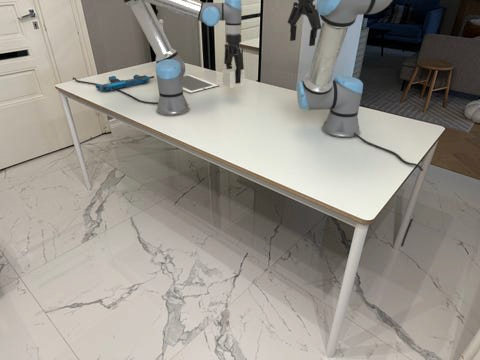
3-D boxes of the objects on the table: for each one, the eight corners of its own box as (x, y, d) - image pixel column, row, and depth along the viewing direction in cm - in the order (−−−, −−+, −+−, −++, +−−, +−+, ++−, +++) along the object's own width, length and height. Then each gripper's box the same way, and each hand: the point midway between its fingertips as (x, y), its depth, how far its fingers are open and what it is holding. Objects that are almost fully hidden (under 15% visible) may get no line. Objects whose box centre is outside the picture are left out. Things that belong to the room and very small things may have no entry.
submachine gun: (140, 69, 223) (158, 75, 206) (141, 75, 225) (159, 81, 208) (87, 79, 204) (103, 87, 188) (89, 85, 206) (105, 94, 190)
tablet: (161, 80, 212) (161, 79, 212) (189, 74, 223) (188, 73, 223) (190, 93, 191) (190, 92, 191) (218, 85, 203) (218, 85, 202)
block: (244, 85, 178) (245, 70, 174) (230, 87, 173) (229, 73, 169) (237, 81, 183) (237, 67, 179) (222, 84, 179) (222, 69, 175)
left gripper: (251, 36, 159) (250, 84, 172) (229, 30, 173) (229, 74, 186) (238, 38, 156) (238, 87, 168) (216, 31, 170) (217, 77, 182)
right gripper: (334, -8, 138) (326, 46, 150) (295, -12, 156) (291, 37, 168) (320, -7, 135) (314, 48, 147) (282, -11, 153) (279, 39, 165)
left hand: (233, 80), depth 177 cm, fingers closed on block, 7 cm apart
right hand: (302, 43), depth 157 cm, fingers open, 13 cm apart
